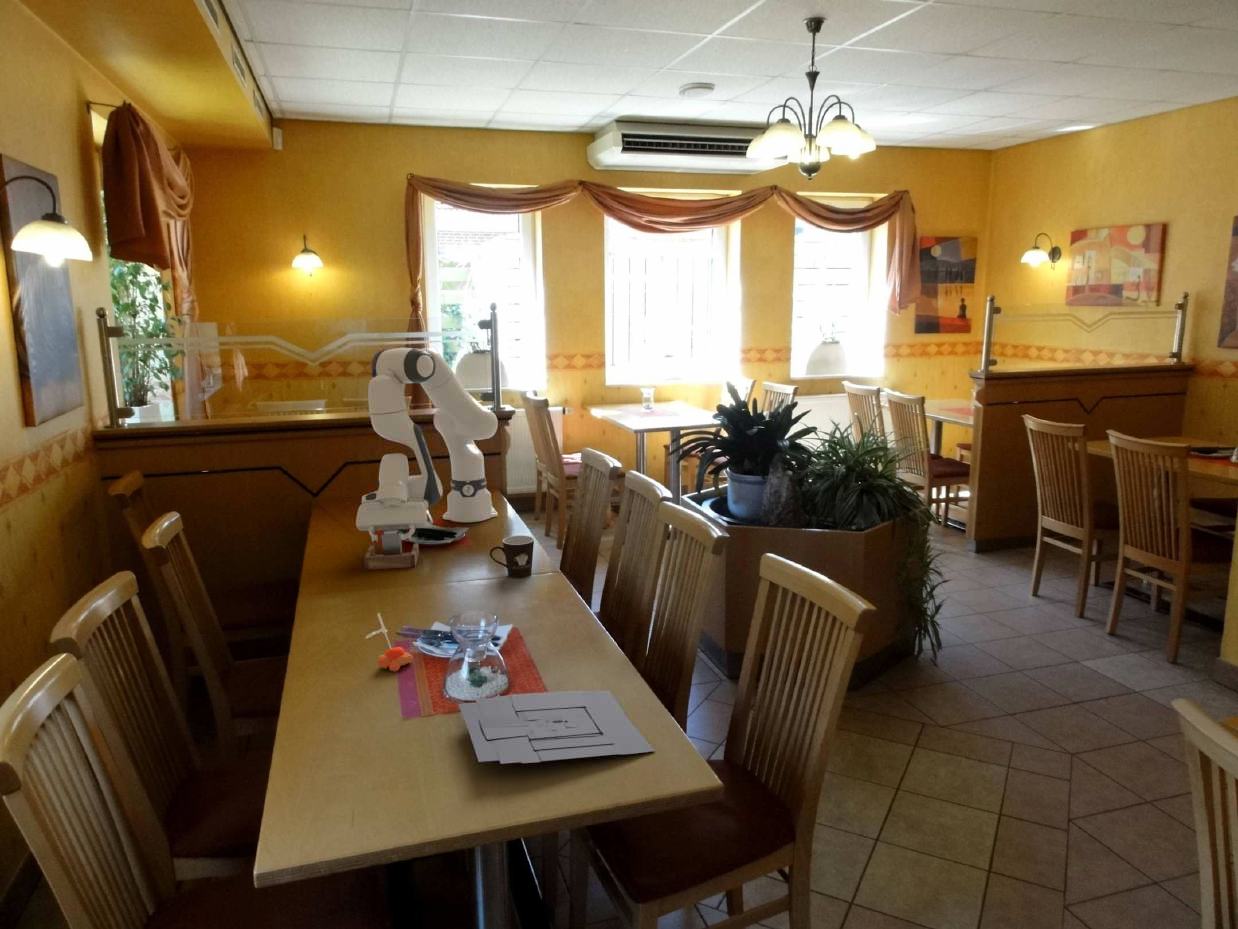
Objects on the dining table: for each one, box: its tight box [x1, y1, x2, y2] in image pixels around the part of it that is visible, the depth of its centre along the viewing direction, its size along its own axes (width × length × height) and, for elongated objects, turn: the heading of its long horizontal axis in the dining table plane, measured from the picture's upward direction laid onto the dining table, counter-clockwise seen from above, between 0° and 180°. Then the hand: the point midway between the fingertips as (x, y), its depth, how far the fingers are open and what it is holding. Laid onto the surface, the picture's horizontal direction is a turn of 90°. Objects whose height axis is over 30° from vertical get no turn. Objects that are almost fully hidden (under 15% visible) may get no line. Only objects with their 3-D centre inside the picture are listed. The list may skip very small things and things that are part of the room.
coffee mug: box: [489, 534, 535, 579], centre depth 232 cm, size 12×9×10 cm
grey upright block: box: [380, 529, 403, 556], centre depth 245 cm, size 4×5×9 cm
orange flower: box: [365, 612, 414, 672], centre depth 176 cm, size 6×10×12 cm, turn 116°
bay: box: [363, 542, 420, 571], centre depth 245 cm, size 12×14×4 cm
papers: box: [458, 689, 656, 764], centre depth 149 cm, size 24×30×4 cm
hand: (391, 541), depth 244 cm, fingers open, 8 cm apart
